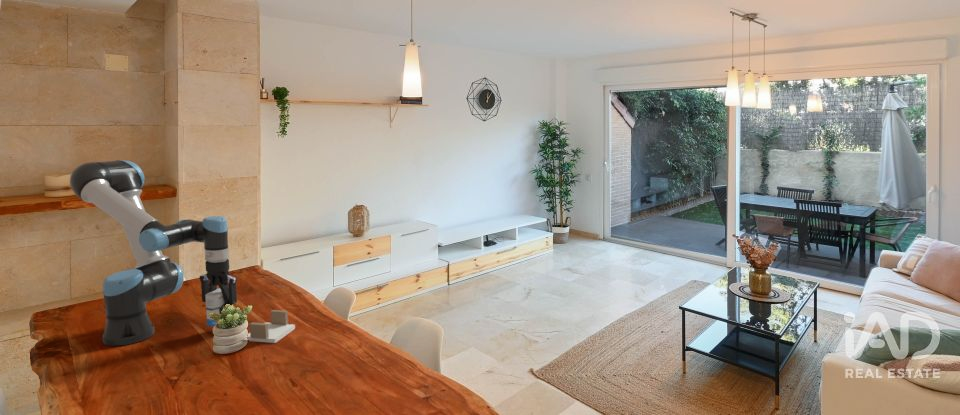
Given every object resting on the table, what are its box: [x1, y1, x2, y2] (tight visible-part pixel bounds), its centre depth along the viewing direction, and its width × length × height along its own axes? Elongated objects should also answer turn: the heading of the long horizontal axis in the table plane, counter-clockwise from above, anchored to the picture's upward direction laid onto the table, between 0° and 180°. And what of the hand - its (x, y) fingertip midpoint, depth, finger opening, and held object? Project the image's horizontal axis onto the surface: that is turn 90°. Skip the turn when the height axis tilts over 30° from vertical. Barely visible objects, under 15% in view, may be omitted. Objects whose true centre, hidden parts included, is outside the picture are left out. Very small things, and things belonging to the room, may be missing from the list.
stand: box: [247, 309, 296, 344], centre depth 180 cm, size 12×14×6 cm
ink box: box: [205, 287, 234, 327], centre depth 181 cm, size 8×5×12 cm, turn 168°
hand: (220, 321), depth 182 cm, fingers closed on ink box, 5 cm apart
